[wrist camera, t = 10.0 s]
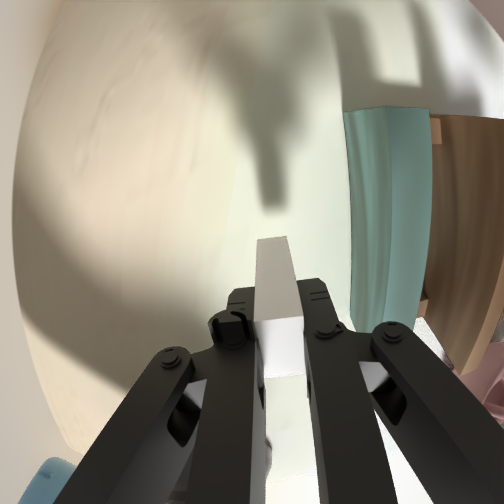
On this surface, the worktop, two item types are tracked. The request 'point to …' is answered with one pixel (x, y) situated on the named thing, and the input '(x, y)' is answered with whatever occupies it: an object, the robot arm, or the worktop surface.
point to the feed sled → (428, 225)
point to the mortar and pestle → (488, 380)
